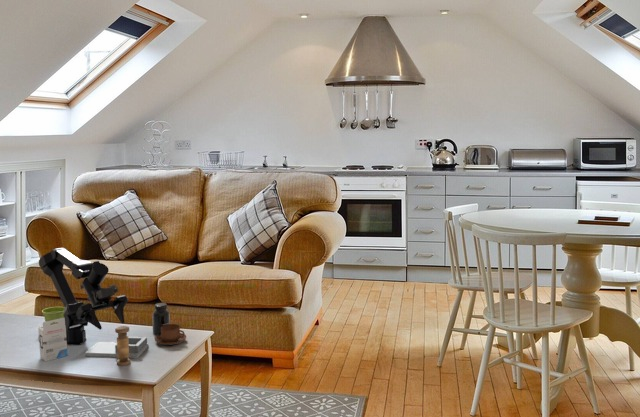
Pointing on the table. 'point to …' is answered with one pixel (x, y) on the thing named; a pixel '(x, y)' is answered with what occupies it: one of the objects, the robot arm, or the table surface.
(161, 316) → the supplement bottle
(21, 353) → the table surface
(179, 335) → the cup and saucer
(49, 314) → the plant pot
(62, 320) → the ink box
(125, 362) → the bobbin
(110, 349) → the board
